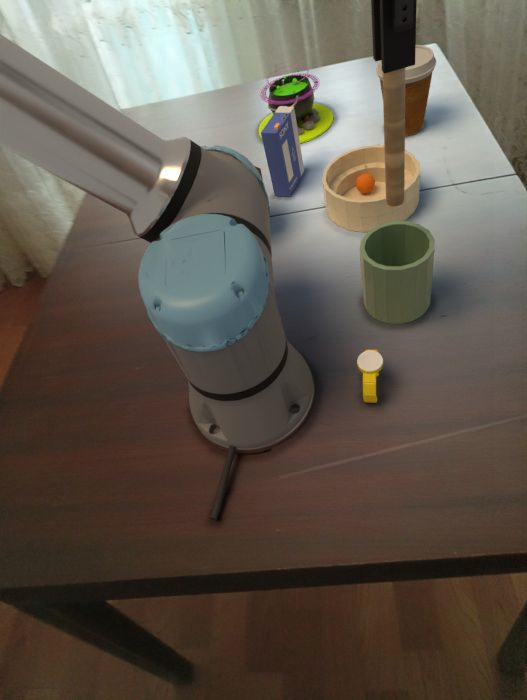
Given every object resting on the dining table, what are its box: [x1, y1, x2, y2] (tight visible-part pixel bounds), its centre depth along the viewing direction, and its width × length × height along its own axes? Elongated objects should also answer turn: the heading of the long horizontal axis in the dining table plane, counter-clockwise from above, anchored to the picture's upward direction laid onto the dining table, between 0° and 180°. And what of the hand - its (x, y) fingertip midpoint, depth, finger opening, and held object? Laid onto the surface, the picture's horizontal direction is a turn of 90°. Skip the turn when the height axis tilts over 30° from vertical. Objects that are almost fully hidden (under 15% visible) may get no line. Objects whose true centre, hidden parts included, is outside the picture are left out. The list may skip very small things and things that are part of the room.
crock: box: [359, 220, 436, 325], centre depth 62 cm, size 8×8×10 cm
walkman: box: [261, 106, 305, 198], centre depth 82 cm, size 8×3×12 cm, turn 157°
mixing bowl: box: [321, 144, 421, 233], centre depth 76 cm, size 14×14×6 cm
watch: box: [356, 349, 384, 404], centre depth 56 cm, size 6×3×6 cm, turn 170°
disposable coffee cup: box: [375, 44, 437, 137], centre depth 85 cm, size 10×10×12 cm
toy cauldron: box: [258, 60, 334, 145], centre depth 95 cm, size 15×15×11 cm
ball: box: [356, 174, 375, 193], centre depth 79 cm, size 3×3×3 cm
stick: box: [382, 68, 406, 206], centre depth 45 cm, size 2×2×26 cm
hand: (393, 61), depth 44 cm, fingers closed on stick, 2 cm apart
